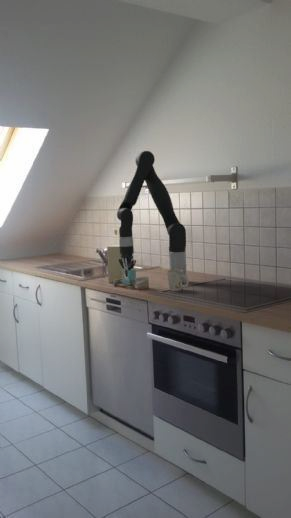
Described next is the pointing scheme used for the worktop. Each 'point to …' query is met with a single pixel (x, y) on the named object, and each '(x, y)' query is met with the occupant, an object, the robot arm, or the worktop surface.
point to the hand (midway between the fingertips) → (128, 276)
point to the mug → (176, 280)
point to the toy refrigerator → (114, 263)
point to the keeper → (130, 277)
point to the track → (133, 283)
